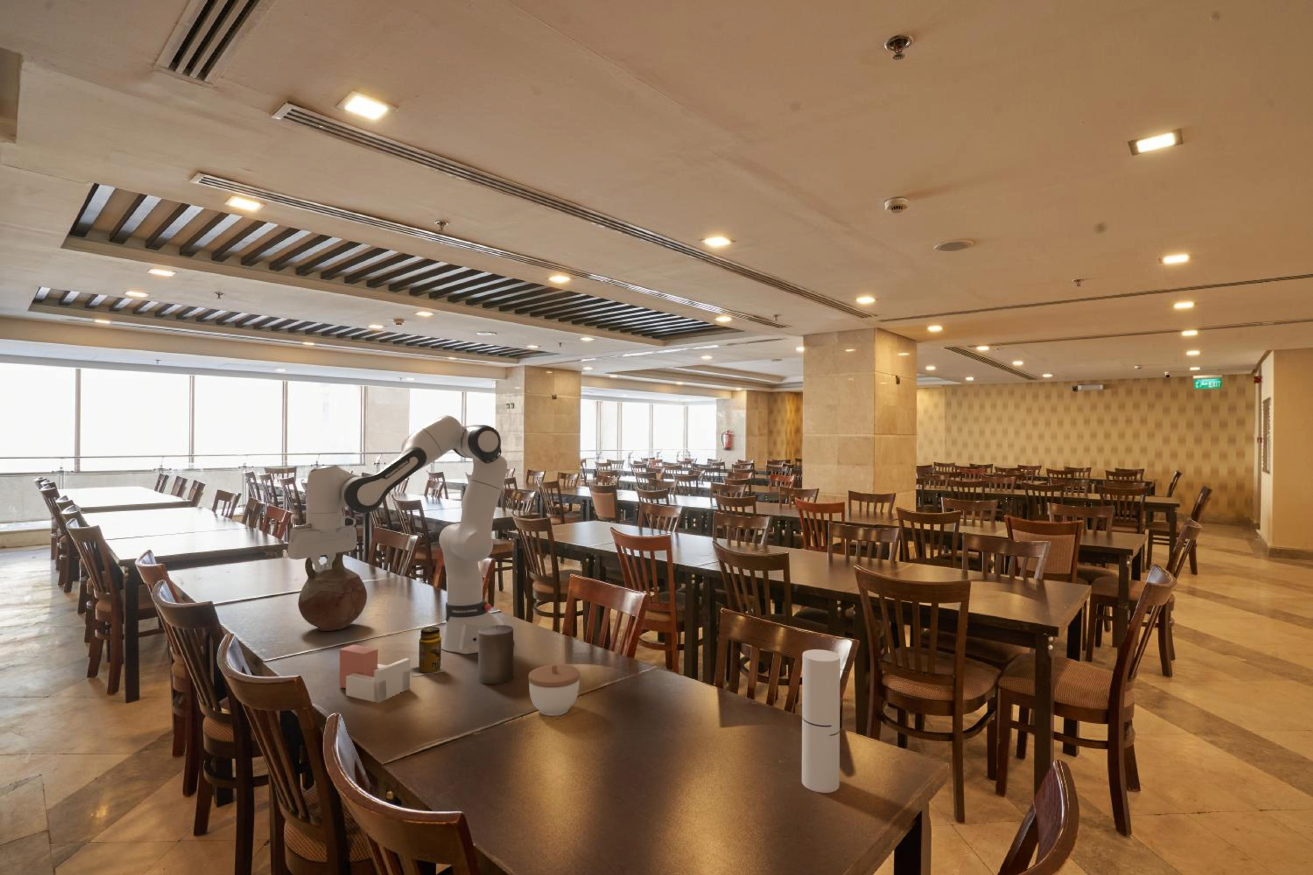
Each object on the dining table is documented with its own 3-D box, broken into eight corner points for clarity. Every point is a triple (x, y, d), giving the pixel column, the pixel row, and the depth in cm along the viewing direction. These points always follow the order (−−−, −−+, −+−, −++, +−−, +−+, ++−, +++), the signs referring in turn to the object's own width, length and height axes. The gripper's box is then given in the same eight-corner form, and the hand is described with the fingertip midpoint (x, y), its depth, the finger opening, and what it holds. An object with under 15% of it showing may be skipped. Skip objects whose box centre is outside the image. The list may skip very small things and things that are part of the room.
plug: (339, 686, 177) (339, 649, 177) (353, 680, 181) (353, 644, 181) (363, 691, 173) (364, 653, 173) (377, 686, 177) (377, 649, 177)
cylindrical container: (797, 774, 133) (797, 649, 133) (831, 773, 133) (832, 649, 133) (808, 793, 125) (809, 661, 126) (844, 791, 126) (845, 660, 126)
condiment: (444, 671, 190) (445, 629, 190) (414, 677, 185) (414, 634, 185) (438, 664, 196) (438, 623, 196) (408, 669, 191) (408, 628, 192)
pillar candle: (520, 678, 185) (520, 624, 185) (490, 687, 178) (490, 631, 178) (500, 670, 192) (500, 618, 192) (470, 678, 184) (471, 624, 185)
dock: (345, 695, 172) (346, 664, 172) (378, 681, 181) (378, 652, 181) (378, 702, 167) (378, 671, 167) (409, 688, 176) (410, 658, 177)
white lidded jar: (588, 703, 167) (588, 660, 167) (565, 723, 155) (565, 676, 155) (543, 697, 171) (544, 654, 171) (518, 716, 159) (518, 670, 160)
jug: (379, 626, 235) (379, 542, 235) (320, 641, 217) (321, 550, 217) (343, 617, 247) (344, 536, 247) (285, 630, 229) (286, 544, 229)
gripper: (298, 526, 178) (297, 578, 178) (360, 518, 197) (360, 565, 196) (282, 525, 181) (282, 576, 180) (345, 517, 199) (345, 563, 199)
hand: (323, 570), depth 189 cm, fingers closed
